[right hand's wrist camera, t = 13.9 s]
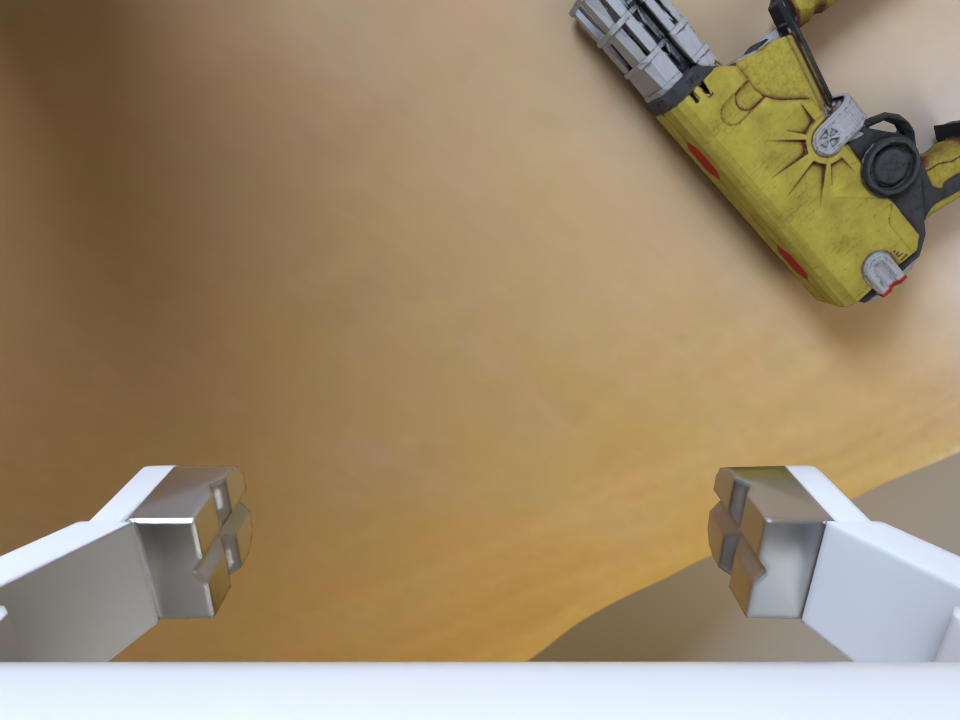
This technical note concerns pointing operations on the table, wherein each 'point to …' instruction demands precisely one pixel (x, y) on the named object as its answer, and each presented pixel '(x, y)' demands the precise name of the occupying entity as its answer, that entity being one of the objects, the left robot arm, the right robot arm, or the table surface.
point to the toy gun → (787, 144)
